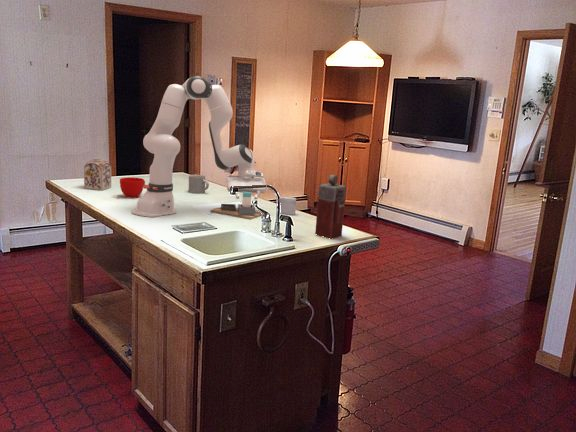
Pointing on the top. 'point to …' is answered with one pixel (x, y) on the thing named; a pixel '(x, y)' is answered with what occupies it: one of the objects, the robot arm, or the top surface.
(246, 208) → the block
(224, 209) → the holster
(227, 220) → the top surface
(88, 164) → the decorative jar
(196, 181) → the coffee mug
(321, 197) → the brown rectangular canister
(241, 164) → the robot arm
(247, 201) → the plug
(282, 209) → the medicine box
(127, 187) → the ceramic cup
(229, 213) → the board
